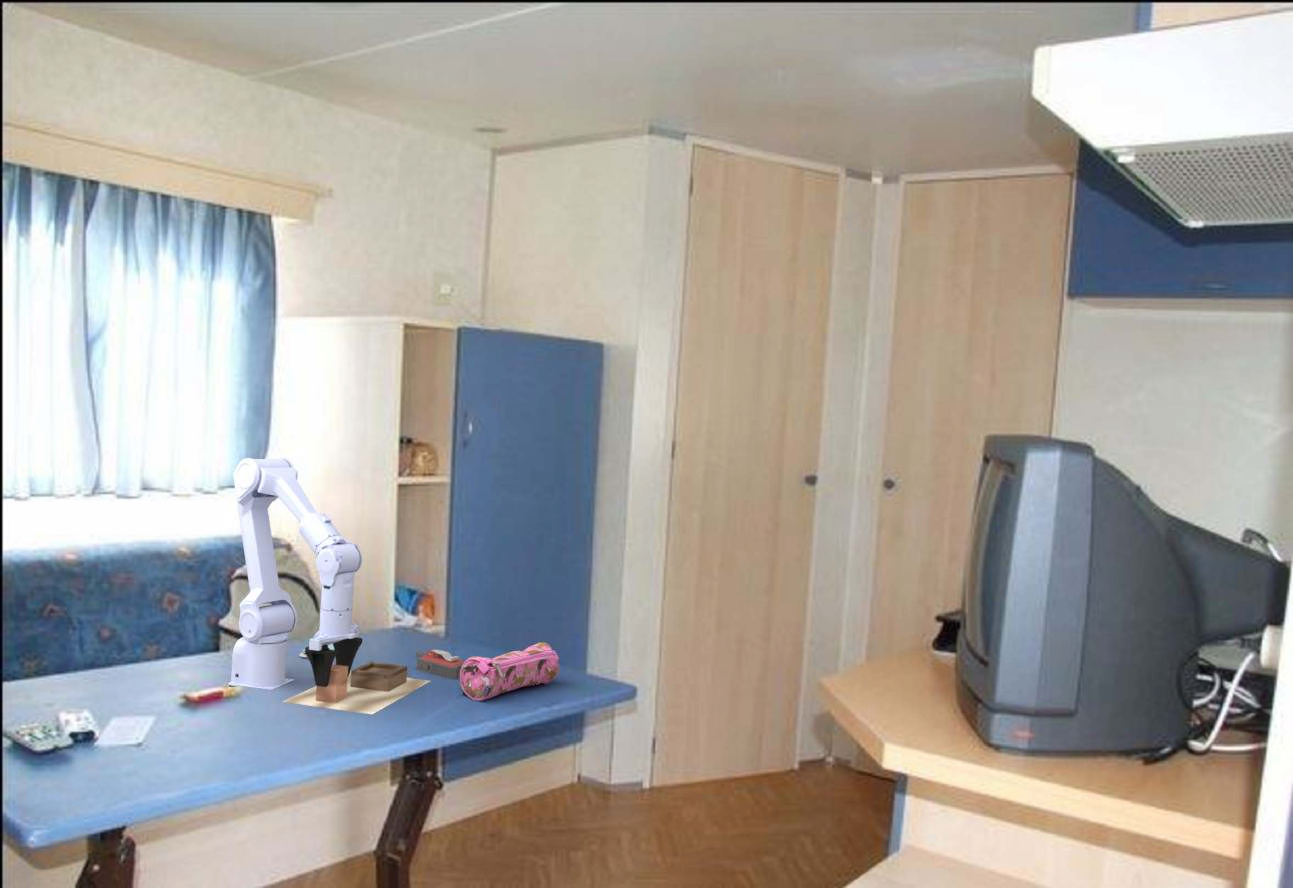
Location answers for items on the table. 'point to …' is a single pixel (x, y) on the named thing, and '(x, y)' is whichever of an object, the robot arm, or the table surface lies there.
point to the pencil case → (508, 671)
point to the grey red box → (439, 663)
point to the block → (334, 685)
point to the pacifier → (306, 655)
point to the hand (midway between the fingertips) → (332, 680)
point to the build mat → (367, 689)
